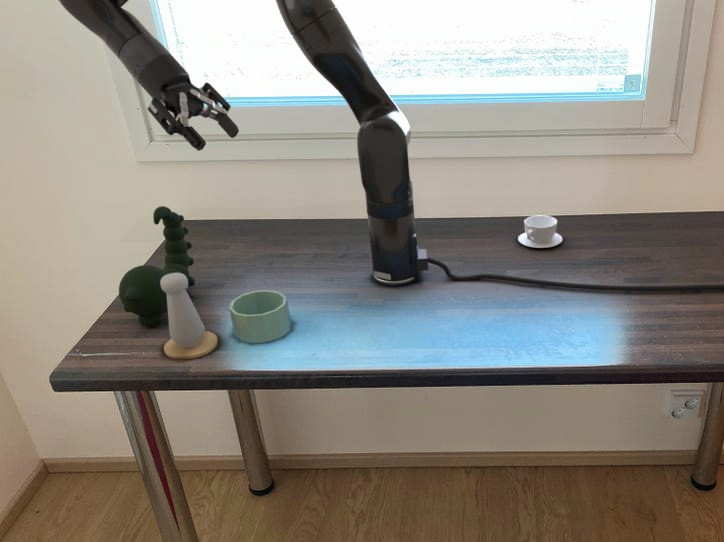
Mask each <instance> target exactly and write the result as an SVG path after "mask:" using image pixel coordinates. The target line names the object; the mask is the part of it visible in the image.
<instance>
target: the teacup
mask: <svg viewBox="0 0 724 542" xmlns="http://www.w3.org/2000/svg"><path fill="white" fill-rule="evenodd" d="M523 224H524V231H525V232H523V233H521V234H520V235H518V236H517V237H518V238H517V240H518V242H519V243H520V244H521V245H523V246H526V247H530V248H538V249H544V248H552V247H556V246H558V245H559V244H561V243H562V242H563V237H562V235H560V234H559V233H557V228H558V227H557V226H558V220H557V218H555V217H553V216H550V215H545V214H538V215H537V214H536V215H531V216H528V217H526V218H525V219H524V220H523Z"/></svg>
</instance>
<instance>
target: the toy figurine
mask: <svg viewBox="0 0 724 542" xmlns="http://www.w3.org/2000/svg"><path fill="white" fill-rule="evenodd" d="M152 217H153V223H154V225H156V226H158V225H159V224H160V222H162V225H163V226H164V228H163V231H162V235H163V237H164V239H165V242H164V250H165V253H166V254H165V255H164V264H165V265H164V266H163V268H160V267H158V266H155V265H151V264H149V265H148V264H145V265H144V264H143V265H138V266H135V267H133V268H131V269H129V270H128V271H127V272H125V273H124V275H123V276H122V277H121V280H120V282H119V285H118V296H119V299H120V302H121V304H122V305H123V309H124V311H125V312H126V313H131V314H134V315H135V316H138V318H137V319H138V320H137V321H138V322H139V324H140V325H142V326H143V327H146V328H154V327H155V328H156V327H158V326H161V324H162V323H163V321H164V316H163V314H164V313H166V312H168V306H167V293H166V292H164V291H163V290H162V288H161V284H160V281H161V279H162V277H164V276H165V275H167V274H171V273H182V274H184V275H185V276H186V277H187V279H188V288H190V287H194V285H195V284H196V279H195V277H193V276H190V270H189V269H188V268H189V267H190V266H193V265H194V263H195V260H194V258H193V257H191V256H189V254H188V253H187V252H188V250H190V249H192V247H193V244H192V242H190V241H186V240H185V235H187V234H189V229H188V228H187V227H185V226H182V222H184V221H185V217H184V216H183V215H182V214H179V213H177V212H174V211H172V209H170V208H169V207H167V206H163V205H161V206H158V207H156V208H155V209H154V211H153V215H152ZM161 220H162V221H161ZM188 288H186V291H187V293H188V295H189V297H190V299H191V297H192V292H191V291H190V290H189V289H188Z"/></svg>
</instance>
